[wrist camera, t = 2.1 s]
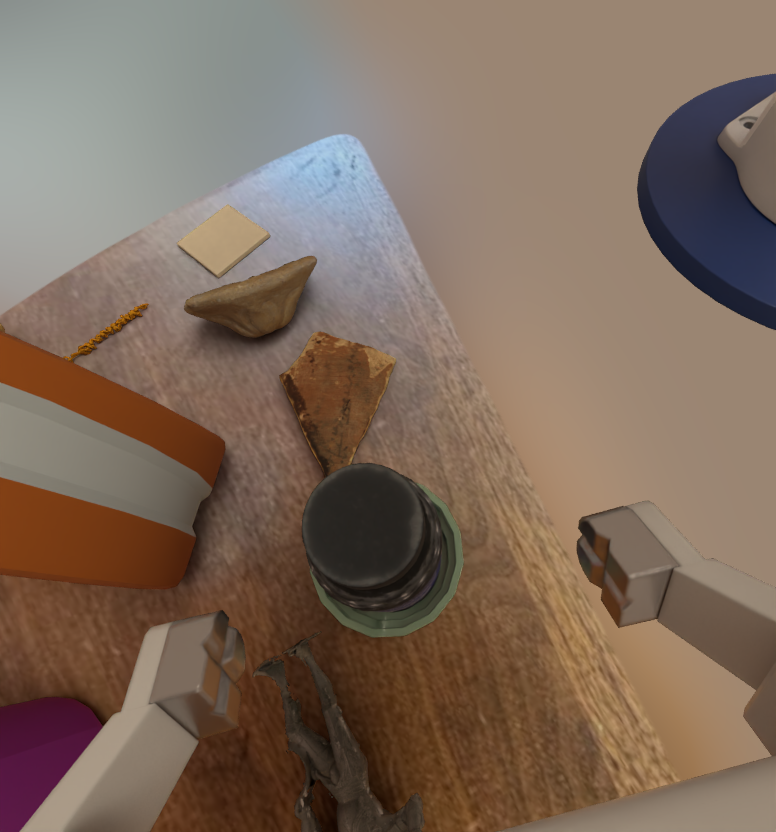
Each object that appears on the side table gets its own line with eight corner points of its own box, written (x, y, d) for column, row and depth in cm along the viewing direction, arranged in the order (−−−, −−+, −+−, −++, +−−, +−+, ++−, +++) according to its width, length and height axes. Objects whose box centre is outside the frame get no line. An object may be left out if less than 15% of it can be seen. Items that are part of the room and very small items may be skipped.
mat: (229, 207, 41) (227, 203, 41) (270, 236, 39) (269, 232, 39) (178, 246, 40) (176, 243, 39) (218, 278, 37) (216, 275, 37)
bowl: (386, 464, 29) (381, 449, 27) (488, 552, 26) (494, 545, 24) (294, 562, 27) (279, 557, 24) (394, 669, 24) (389, 676, 22)
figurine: (319, 616, 22) (435, 927, 17) (354, 612, 26) (462, 868, 20) (229, 675, 23) (309, 987, 18) (274, 663, 27) (354, 921, 21)
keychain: (60, 357, 35) (71, 367, 36) (58, 359, 34) (69, 369, 35) (143, 298, 37) (152, 308, 37) (143, 299, 36) (153, 309, 36)
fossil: (328, 242, 30) (187, 297, 26) (352, 303, 32) (222, 363, 28) (289, 258, 38) (175, 303, 34) (309, 307, 39) (203, 354, 36)
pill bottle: (462, 561, 26) (480, 529, 16) (384, 637, 25) (350, 653, 15) (393, 486, 28) (371, 416, 18) (319, 552, 27) (251, 515, 17)
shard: (339, 504, 28) (334, 497, 27) (240, 464, 30) (229, 456, 29) (401, 367, 32) (399, 353, 31) (309, 338, 34) (303, 325, 32)
